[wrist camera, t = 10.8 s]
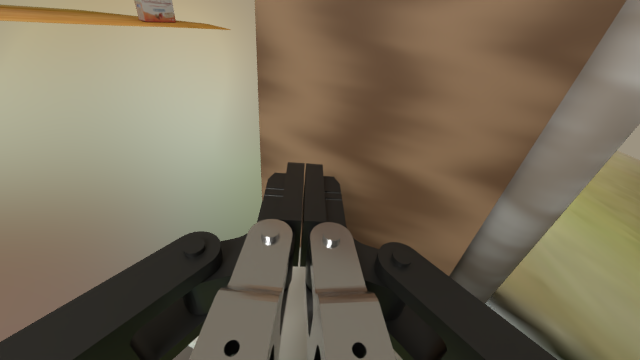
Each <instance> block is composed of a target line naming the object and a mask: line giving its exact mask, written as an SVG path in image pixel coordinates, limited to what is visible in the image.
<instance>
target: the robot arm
mask: <svg viewBox="0 0 640 360" xmlns="http://www.w3.org/2000/svg"><path fill="white" fill-rule="evenodd" d="M304 166H305V163H295V162H288V164H287V171H286V173H274V174H273V175H272V176H271V177H270V178H269V179H268V181H267V185H266V189H265V193H264V197H263V201H262V205H261V209H260V213H259V217H258V221H257V223H256V224H254V225H253V226H252V227H251V228H250V230H249V232H248V234H246V235H244V236H241V237H239V238H235V239H230V240H225V241H221V242H220V240H219V239H218V237H217V236H215V235H214V234H212V233H209V232H193V233H189V234H187V235H184V236H183V237H181V238H179V239H177V240H175V241H174V242H172V243H171V244H169V245H167V246H165V247H164V248H162V249H160V250H158V251H156V252H155V253H153V254H151V255H150V256H148V257H146V258H144V259H143V260H141V261H140V262H137V263H136V264H134V265H132V266H131V267H129V268H127V269H125V270H124V271H122V272H120V273H118V274H117V275H115V276H113V277H112V278H110V279H108V280H106V281H105V282H103V283H101V284H100V285H98V286H96V287H94V288H93V289H91V290H89V291H88V292H86V293H84V294H83V295H81V296H79V297H77V298H75V299H74V300H72V301H70V302H69V303H67V304H65V305H63V306H62V307H60V308H58V309H56V310H55V311H53V312H51V313H49V314H48V315H46V316H44V317H43V318H41V319H39V320H37V321H36V322H34V323H32V324H31V325H29V326H27V327H25V328H24V329H22V330H20V331H18V332H17V333H15V334H13V335H12V336H10V337H8V338H7V339H5V340H3V341H1V342H0V360H172V359H173V358H175V357H176V356H177V355H178V354H179V353H180V352H181V351H182V350H183V349H184V348H186V347H187V346H188V345H189V344H190V343H191V342H192V341H193V340H195V339H196V338H197V337H198V336H199V337H198V339H197V341H196V344H195V346H194V349H193V351H192V354H191V357H190V358H189V360H279V352H280V343H281V337H282V330H283V324H284V318H285V312H286V306H287V300H288V294H289V287H290V283H291V280H292V271H293V266H294V267H298V262H299V250H300V238H301V254H300V267H306V274H305V285H304V290H305V309H306V327H307V360H396V357H395V354H394V351H393V349H394V350H395V352H396V353H397V354H398V355H399V356H400V357H401V358H402V359H403V360H557V359H556V358H555V357H553V356H552V355H551V354H549V353H548V352H547V351H545V350H544V349H543V348H542V347H540V346H539V345H538V344H536V343H535V342H534V341H532V340H531V339H530V338H528V337H527V336H526V335H525V334H523V333H522V332H521V331H519V330H518V329H517V328H515V327H514V326H513V325H512V324H510V323H509V322H508V321H506V320H505V319H504V318H502V317H501V316H500V315H499V314H497V313H496V312H495V311H493V310H492V309H491V308H489V307H488V306H487V305H486V304H484V303H483V302H482V301H480V300H479V299H478V298H476V297H475V296H474V295H473V294H471V293H470V292H469V291H467V290H466V289H465V288H463V287H462V286H461V285H459V284H458V283H457V282H456V281H454V280H453V279H452V278H450V277H449V276H448V275H446V274H445V273H444V272H443V271H441V270H440V269H439V268H437V267H436V266H435V265H433V264H432V263H431V262H430V261H428V260H427V259H426V258H424V257H423V256H422V255H420V254H419V253H418V252H417V251H415V250H414V249H412V248H411V247H409V246H407V245H405V244H402V243H398V242H389V243H386V244H384V245H382V246H381V247H380V249H377V248H374V247H371V246H368V245H365V244H362V243H360V242H358V241H357V240H355V239H354V238H353V237H352V234H351V233H350V231H349V230H348V229H347V227H346V221H345V215H344V208H343V201H342V195H341V188H340V184H339V182H338V181H337V180H336V179H335V177H332V176H323V164H310V163H306V169H305V182H304ZM303 187H304V194H303ZM302 208H303V211H302ZM301 226H302V233H301Z"/></svg>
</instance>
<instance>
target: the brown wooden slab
mask: <svg viewBox="0 0 640 360" xmlns="http://www.w3.org/2000/svg"><path fill="white" fill-rule="evenodd" d="M255 16H256V44H257V70H258V98H259V125H260V152H261V177H262V201H263V197H264V193H265V189H266V185H267V181H268V179H269V178H270V177H271V176H272V175H273V174H274V173H286V171H287V164H288V162H295V163H305V166H304V182H305V169H306V163H310V164H323V176H332V177H335V179H336V180H337V181H338V182H339V184H340V188H341V195H342V201H343V208H344V215H345V221H346V227H347V229H348V230H349V231H350V233H351V234H352V237H353V238H354V239H355V240H357V241H358V242H360V243H362V244H365V245H368V246H371V247H374V248H377V249H380V247H381V246H382V245H384V244H386V243H389V242H398V243H402V244H405V245H407V246H409V247H411V248H412V249H414V250H415V251H417V252H418V253H419V254H420V255H422V256H423V257H424V258H426V259H427V260H428V261H430V262H431V263H432V264H433V265H435V266H436V267H437V268H439V269H440V270H441V271H443V272H444V273H445V274H446V275H448V276H449V277H450V278H452V279H453V280H454V281H456V282H457V283H458V284H459V285H461V286H462V287H463V288H465V289H466V290H467V291H469V292H470V293H471V294H473V295H474V296H475V297H476V298H478V299H479V300H480V301H482V302H483V303H484V304H485V303H486V301H487V300H488V299H489V298H490V297H491V296H492V294H493V293H494V292H495V291H496V290H497V289H498V288H499V286H500V285H501V284H502V283H503V282H504V281H505V279H506V278H507V277H508V276H509V275H510V274H511V272H512V271H513V270H514V269H515V268H516V267H517V265H518V264H519V263H520V262H521V261H522V260H523V258H524V257H525V256H526V255H527V254H528V253H529V252H530V250H531V249H532V248H533V247H534V246H535V245H536V243H537V242H538V241H539V240H540V239H541V238H542V236H543V235H544V234H545V233H546V232H547V231H548V229H549V228H550V227H551V226H552V225H553V224H554V223H555V221H556V220H557V219H558V218H559V217H560V216H561V214H562V213H563V212H564V211H565V210H566V209H567V207H568V206H569V205H570V204H571V203H572V202H573V200H574V199H575V198H576V197H577V196H578V195H579V193H580V192H581V191H582V190H583V189H584V188H585V187H586V185H587V184H588V183H589V182H590V181H591V180H592V178H593V177H594V176H595V175H596V174H597V173H598V171H599V170H600V169H601V168H602V167H603V166H604V164H605V163H606V162H607V161H608V160H609V159H610V158H611V156H612V155H613V154H614V153H615V152H616V151H617V149H618V148H619V147H620V146H621V145H622V143H623V142H624V141H625V140H626V139H627V138H628V137H629V135H630V134H631V133H632V132H633V131H634V129H635V128H636V127H637V126H638V125H639V124H640V0H255ZM303 194H304V187H303ZM302 211H303V208H302ZM301 233H302V226H301ZM300 248H301V238H300Z"/></svg>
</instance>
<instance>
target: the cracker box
mask: <svg viewBox="0 0 640 360" xmlns="http://www.w3.org/2000/svg"><path fill="white" fill-rule="evenodd" d="M135 5H136V9H137V13H138V17H139V20H141V21H145V22H176V21H175V16H174V10H173V5H172V0H135Z"/></svg>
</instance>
